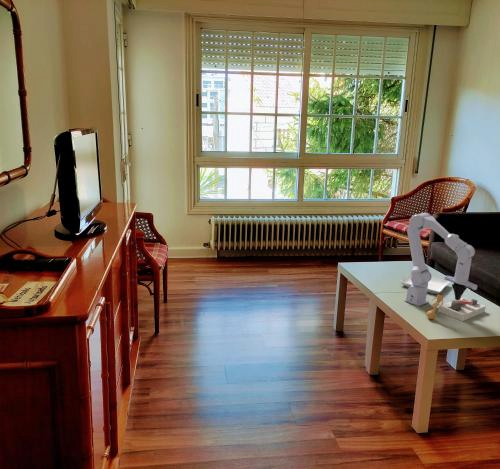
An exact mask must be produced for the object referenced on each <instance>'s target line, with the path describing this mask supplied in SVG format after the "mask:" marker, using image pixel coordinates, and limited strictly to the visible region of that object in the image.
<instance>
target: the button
mask: <svg viewBox="0 0 500 469" xmlns="http://www.w3.org/2000/svg"><path fill="white" fill-rule="evenodd" d="M461 307H462V303H461V302H459V301H453V300H452V303H451V309H452V310H455V311H460V310H461Z"/></svg>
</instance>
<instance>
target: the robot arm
mask: <svg viewBox="0 0 500 469" xmlns="http://www.w3.org/2000/svg"><path fill="white" fill-rule="evenodd" d="M408 222H409V223H408V226H407V229H406V230H407V231H406V232H407V237H408V243H409V244H408V245H409V250H410V255H411V259H412V266H413V267H412V269H411V272H410V273H412V275H411V282H412V286H411V287H407V291H406V298H405V299H404V300H403V301H404V302H407V303H409V304H411V305H413V306H417V307H420V306H423V305H425V304H426V305H427V304H428V303H430V301H429V300H427V293H428V292H427V288H428V282H429V281H430V280H431V278H432V277H433V276H432V273H431V272H430V270H429V267H428V266H427V265H426V263H425V257H424V252H423V251H424V250H423V246H422V241H421V236H420V234H421V232H422V230H424V229H430V230H432V231H434V232H435V233H436V234H437V235H439V236H440V237H441V238H442V239H444V243H445V245H446V246H448V247H449V248H450V249H451V250H452V251H453V252H455V253H456V257H457V262H456V266H455V271H454V272H455V273H454V276H450V275H445V276H444V280H446V281H450V283H453V284H451V287H452V289H453V292H454V300H460V298H462V296H463V295H464V292H465V291H466V290H467V289H469V288H470V289H472V290H473V291H476V290H477V289H478V285H477V284H475V283H473V282H471V281H469V276H470V270H471V265H472V259H473V256H475V254H476V251H475V248H474V247H473V246H472V244H471V245H470V244H468V243H467V242H465V241H464V240H462V239H460V236H459V235H458V234H455V233H450V232H449V231H448V230H447V229H446V228H445V227H444V226H442V225H441V224H440V223H439V222H438V221H437V220H436V219H435V217H434V216H433V215H431V214H430V213H428V212H421V213H418V214H416V213H415V214H413V215H412V216H411V217H410V218H409V219H408Z"/></svg>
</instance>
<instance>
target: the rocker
mask: <svg viewBox="0 0 500 469" xmlns="http://www.w3.org/2000/svg"><path fill="white" fill-rule="evenodd" d="M454 301H459V302H461V303H462V304H469V305H471V304H473V301H471V300H470V299H468V300H456V299H454Z"/></svg>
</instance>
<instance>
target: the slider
mask: <svg viewBox="0 0 500 469" xmlns="http://www.w3.org/2000/svg"><path fill="white" fill-rule="evenodd" d="M470 301H473V304H472V305H477V303H478V299H474V298H473V299H471V300H470Z"/></svg>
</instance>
